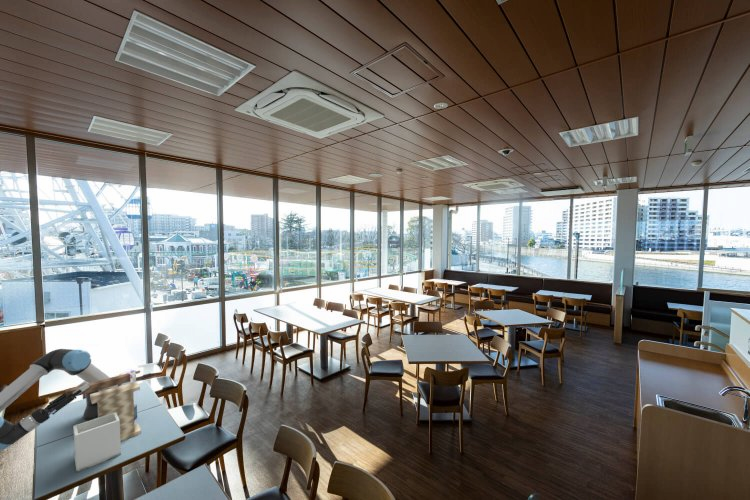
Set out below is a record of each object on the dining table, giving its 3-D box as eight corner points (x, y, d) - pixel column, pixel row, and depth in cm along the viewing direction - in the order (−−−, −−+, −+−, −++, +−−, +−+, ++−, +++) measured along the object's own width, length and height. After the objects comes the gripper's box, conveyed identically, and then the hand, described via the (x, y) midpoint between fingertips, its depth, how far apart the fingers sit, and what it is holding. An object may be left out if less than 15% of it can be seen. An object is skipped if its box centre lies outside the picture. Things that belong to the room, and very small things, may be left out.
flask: (134, 416, 209) (133, 401, 209) (138, 416, 210) (138, 401, 209) (125, 425, 200) (124, 409, 200) (130, 424, 201) (129, 408, 200)
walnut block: (66, 399, 169) (66, 391, 168) (65, 396, 171) (65, 389, 171) (130, 381, 189) (130, 374, 189) (129, 379, 192) (128, 372, 192)
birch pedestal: (93, 451, 176) (91, 400, 174) (91, 443, 182) (89, 394, 181) (141, 433, 192) (139, 386, 191) (137, 426, 199) (136, 381, 197)
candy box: (119, 398, 232) (118, 377, 231) (113, 398, 233) (112, 376, 232) (136, 389, 245) (136, 369, 245) (130, 389, 247) (130, 369, 246)
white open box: (76, 472, 160) (75, 435, 159) (74, 461, 168) (73, 425, 167) (120, 454, 173) (119, 420, 172) (117, 444, 181) (116, 411, 181)
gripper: (29, 421, 155) (84, 384, 169) (30, 408, 166) (81, 374, 180) (41, 430, 158) (93, 393, 172) (41, 416, 169) (90, 383, 184)
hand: (87, 383), depth 176 cm, fingers closed on walnut block, 4 cm apart
